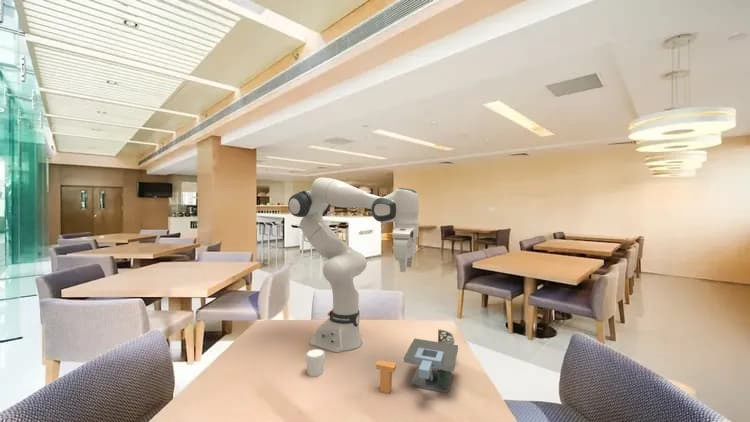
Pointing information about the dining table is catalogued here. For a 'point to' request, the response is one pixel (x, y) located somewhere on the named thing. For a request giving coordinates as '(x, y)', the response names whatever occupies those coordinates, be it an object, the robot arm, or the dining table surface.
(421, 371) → the bracket
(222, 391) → the dining table surface
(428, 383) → the metal plate
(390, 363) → the orange t-shaped block
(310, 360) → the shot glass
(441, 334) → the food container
